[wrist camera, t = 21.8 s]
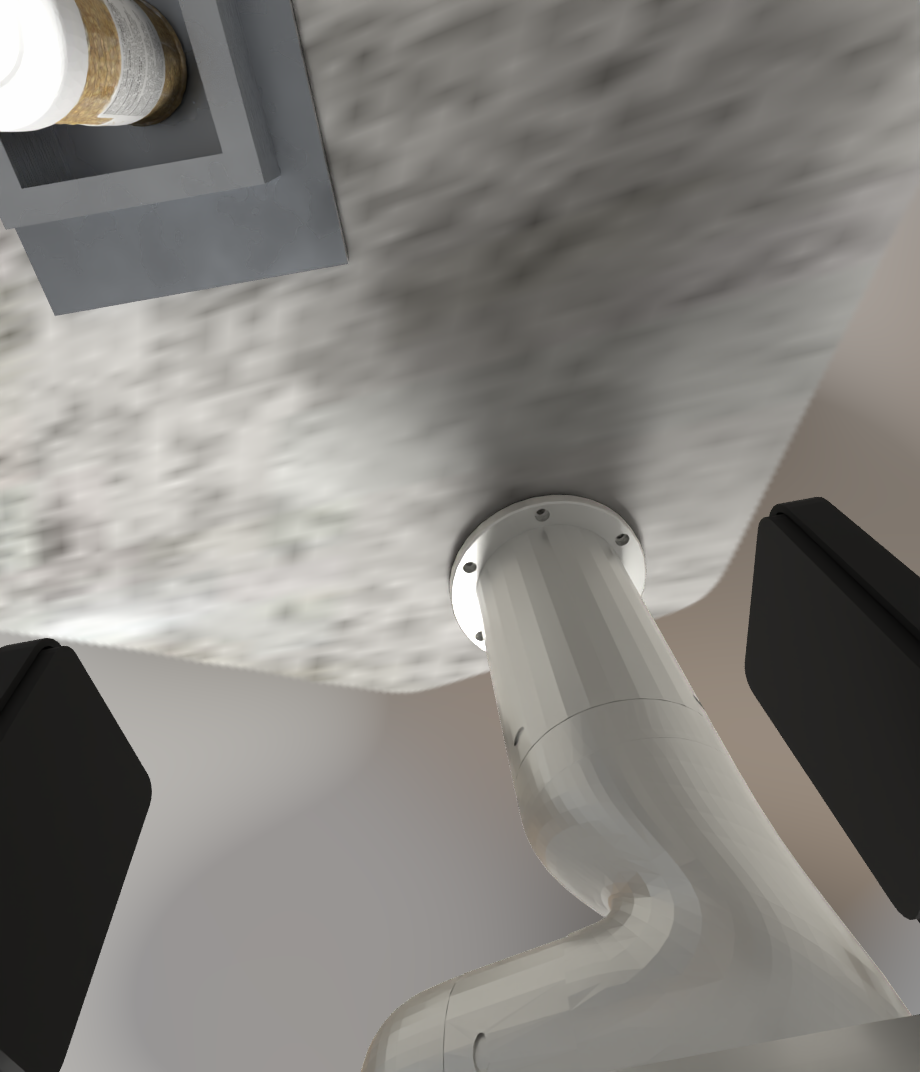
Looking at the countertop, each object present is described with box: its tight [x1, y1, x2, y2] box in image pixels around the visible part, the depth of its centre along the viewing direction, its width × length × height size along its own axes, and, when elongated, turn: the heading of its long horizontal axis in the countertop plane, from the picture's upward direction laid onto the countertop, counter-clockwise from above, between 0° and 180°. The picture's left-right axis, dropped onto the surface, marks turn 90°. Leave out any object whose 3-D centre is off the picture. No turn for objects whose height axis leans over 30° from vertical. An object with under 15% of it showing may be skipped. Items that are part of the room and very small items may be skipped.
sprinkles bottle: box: [0, 0, 187, 132], centre depth 22 cm, size 5×5×13 cm
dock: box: [0, 0, 349, 316], centre depth 25 cm, size 18×14×8 cm
